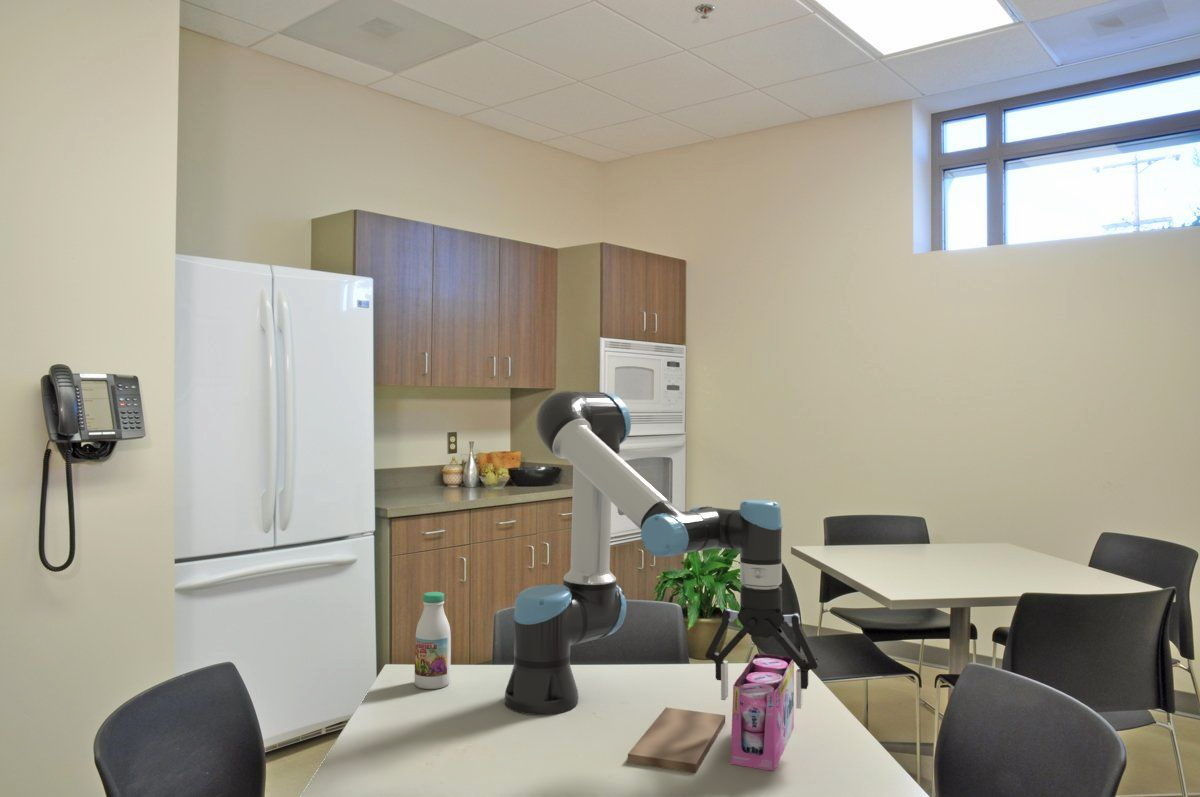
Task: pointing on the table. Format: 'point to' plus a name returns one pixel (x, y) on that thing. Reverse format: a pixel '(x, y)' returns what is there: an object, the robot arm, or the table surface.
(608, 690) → the table surface
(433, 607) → the milk bottle
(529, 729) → the table surface
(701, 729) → the walnut board
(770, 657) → the gum box
